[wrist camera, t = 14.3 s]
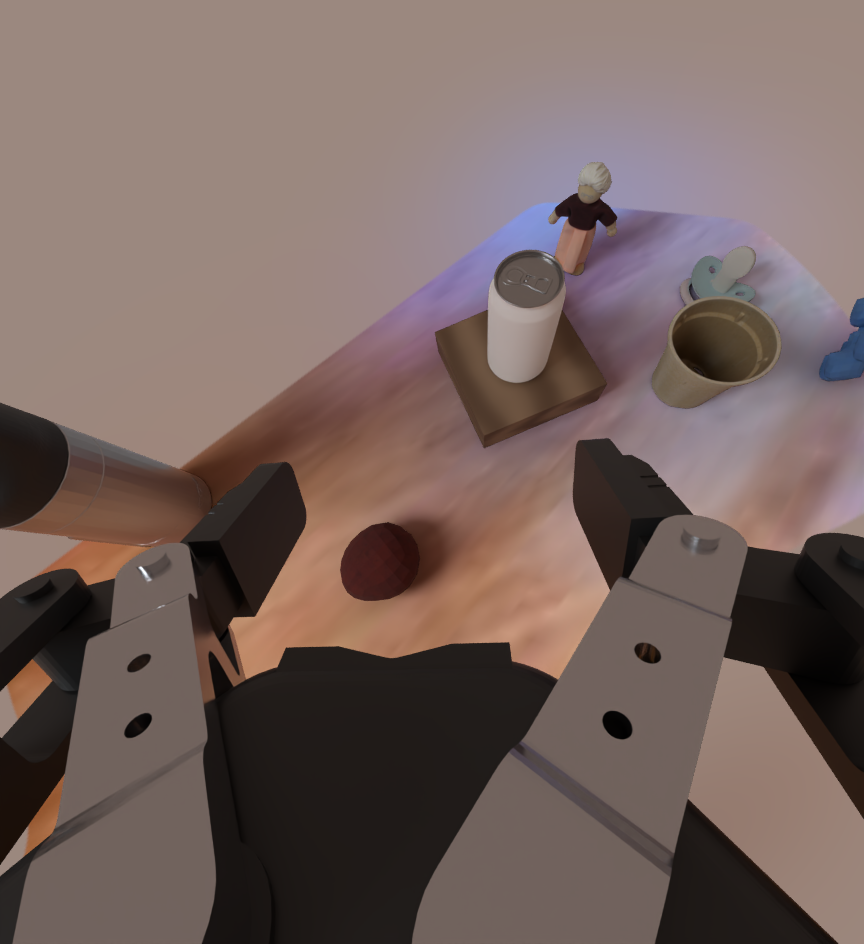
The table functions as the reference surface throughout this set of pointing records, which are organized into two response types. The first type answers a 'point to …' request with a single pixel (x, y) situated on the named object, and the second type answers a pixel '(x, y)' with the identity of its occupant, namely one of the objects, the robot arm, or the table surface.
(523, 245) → the table surface
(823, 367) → the grapes
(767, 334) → the flower pot
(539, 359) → the can
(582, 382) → the walnut block
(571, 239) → the grandmother figurine
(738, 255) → the pacifier
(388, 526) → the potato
